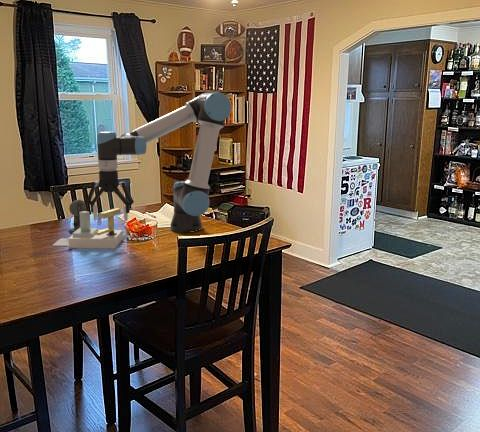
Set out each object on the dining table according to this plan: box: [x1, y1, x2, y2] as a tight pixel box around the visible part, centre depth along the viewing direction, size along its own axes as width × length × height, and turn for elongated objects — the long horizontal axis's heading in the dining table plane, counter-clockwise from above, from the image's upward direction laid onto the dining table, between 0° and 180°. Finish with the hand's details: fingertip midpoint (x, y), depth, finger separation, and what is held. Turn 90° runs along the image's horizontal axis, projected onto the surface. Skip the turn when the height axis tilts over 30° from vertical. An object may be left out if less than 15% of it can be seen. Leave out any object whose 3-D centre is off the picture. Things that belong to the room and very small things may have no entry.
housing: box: [68, 229, 124, 249], centre depth 201 cm, size 19×14×4 cm
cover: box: [72, 210, 99, 237], centre depth 200 cm, size 8×9×10 cm
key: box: [95, 207, 122, 235], centre depth 198 cm, size 14×2×10 cm, turn 153°
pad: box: [51, 237, 69, 247], centre depth 202 cm, size 8×10×1 cm
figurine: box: [67, 199, 87, 235], centre depth 216 cm, size 9×10×15 cm
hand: (110, 220), depth 199 cm, fingers open, 12 cm apart
